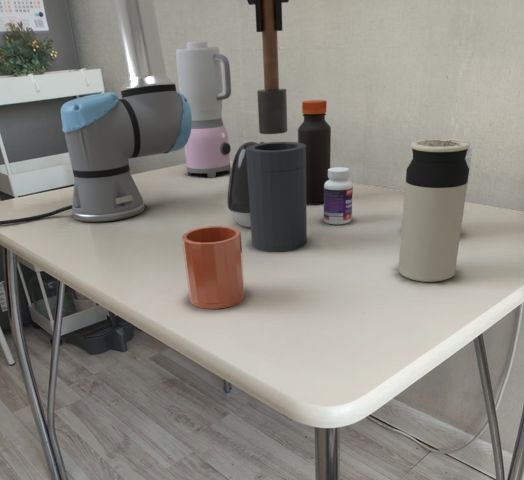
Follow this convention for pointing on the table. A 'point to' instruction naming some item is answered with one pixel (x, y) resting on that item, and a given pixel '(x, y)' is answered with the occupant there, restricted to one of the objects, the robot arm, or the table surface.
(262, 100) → the brush
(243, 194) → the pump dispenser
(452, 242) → the travel mug
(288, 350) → the table surface
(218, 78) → the blender
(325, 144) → the vinegar
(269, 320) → the table surface
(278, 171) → the utensil holder
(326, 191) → the pill bottle
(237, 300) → the pen pot
